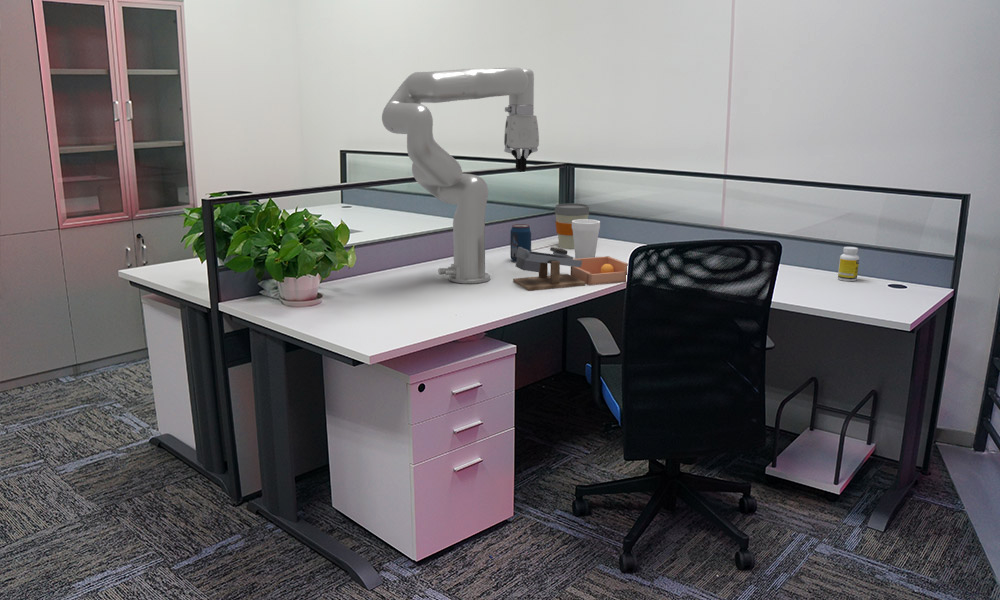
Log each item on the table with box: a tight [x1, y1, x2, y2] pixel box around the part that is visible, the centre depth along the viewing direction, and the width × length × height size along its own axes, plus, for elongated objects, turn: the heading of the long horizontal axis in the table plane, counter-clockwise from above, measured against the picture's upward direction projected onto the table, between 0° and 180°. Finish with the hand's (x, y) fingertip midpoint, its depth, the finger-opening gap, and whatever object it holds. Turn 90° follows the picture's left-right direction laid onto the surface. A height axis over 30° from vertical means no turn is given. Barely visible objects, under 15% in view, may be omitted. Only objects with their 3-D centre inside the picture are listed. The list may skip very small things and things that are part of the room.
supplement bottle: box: [837, 246, 860, 282], centre depth 248 cm, size 5×5×10 cm
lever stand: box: [512, 261, 586, 292], centre depth 244 cm, size 18×12×8 cm, turn 111°
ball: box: [601, 264, 614, 273], centre depth 251 cm, size 4×4×4 cm
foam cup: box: [572, 218, 601, 259], centre depth 278 cm, size 10×9×13 cm
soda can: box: [509, 223, 532, 263], centre depth 276 cm, size 7×7×12 cm
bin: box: [570, 255, 629, 286], centre depth 250 cm, size 13×12×6 cm
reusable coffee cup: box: [554, 203, 590, 250], centre depth 300 cm, size 12×13×15 cm
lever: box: [515, 246, 582, 273], centre depth 247 cm, size 18×15×6 cm
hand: (521, 171), depth 257 cm, fingers closed
